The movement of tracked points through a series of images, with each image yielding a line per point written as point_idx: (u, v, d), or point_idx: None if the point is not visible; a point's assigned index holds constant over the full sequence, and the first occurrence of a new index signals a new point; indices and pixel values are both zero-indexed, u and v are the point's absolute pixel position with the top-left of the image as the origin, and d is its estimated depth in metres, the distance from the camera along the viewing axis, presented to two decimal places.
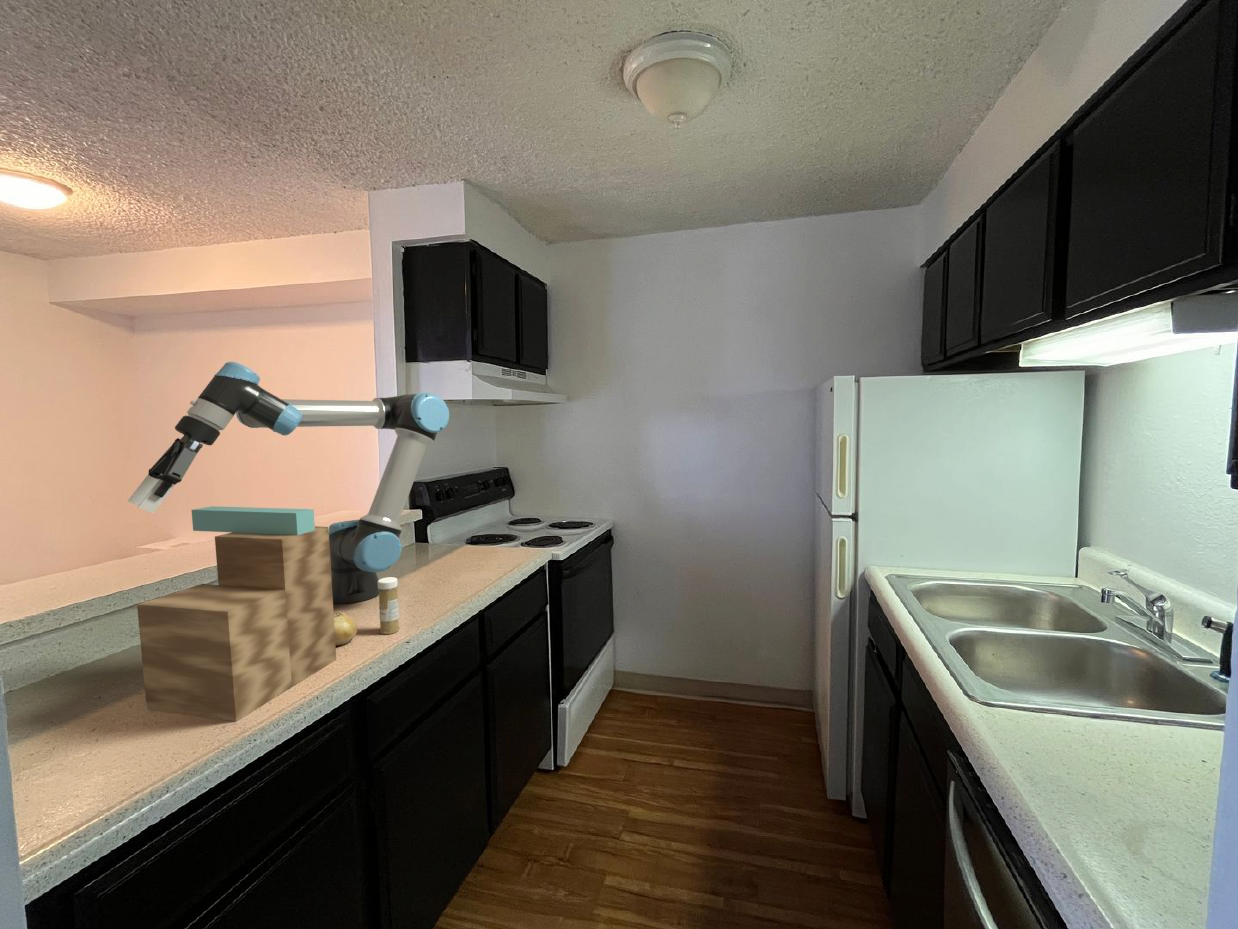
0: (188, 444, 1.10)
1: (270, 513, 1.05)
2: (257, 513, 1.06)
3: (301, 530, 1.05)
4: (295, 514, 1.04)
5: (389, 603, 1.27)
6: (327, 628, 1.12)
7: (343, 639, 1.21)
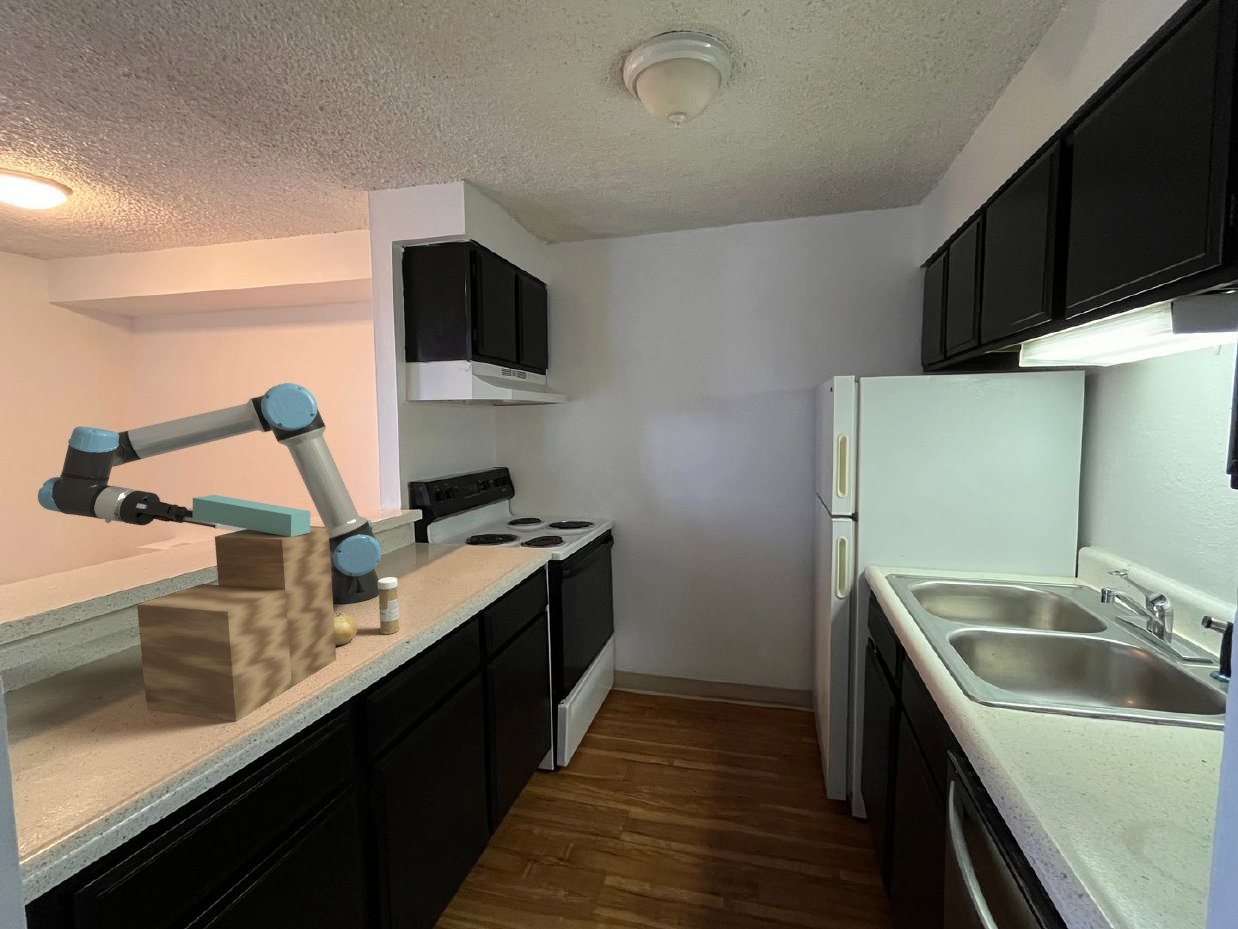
0: (140, 510, 1.10)
1: (266, 511, 1.03)
2: (254, 510, 1.04)
3: (295, 532, 1.03)
4: (290, 516, 1.02)
5: (389, 603, 1.27)
6: (327, 628, 1.12)
7: (343, 639, 1.21)
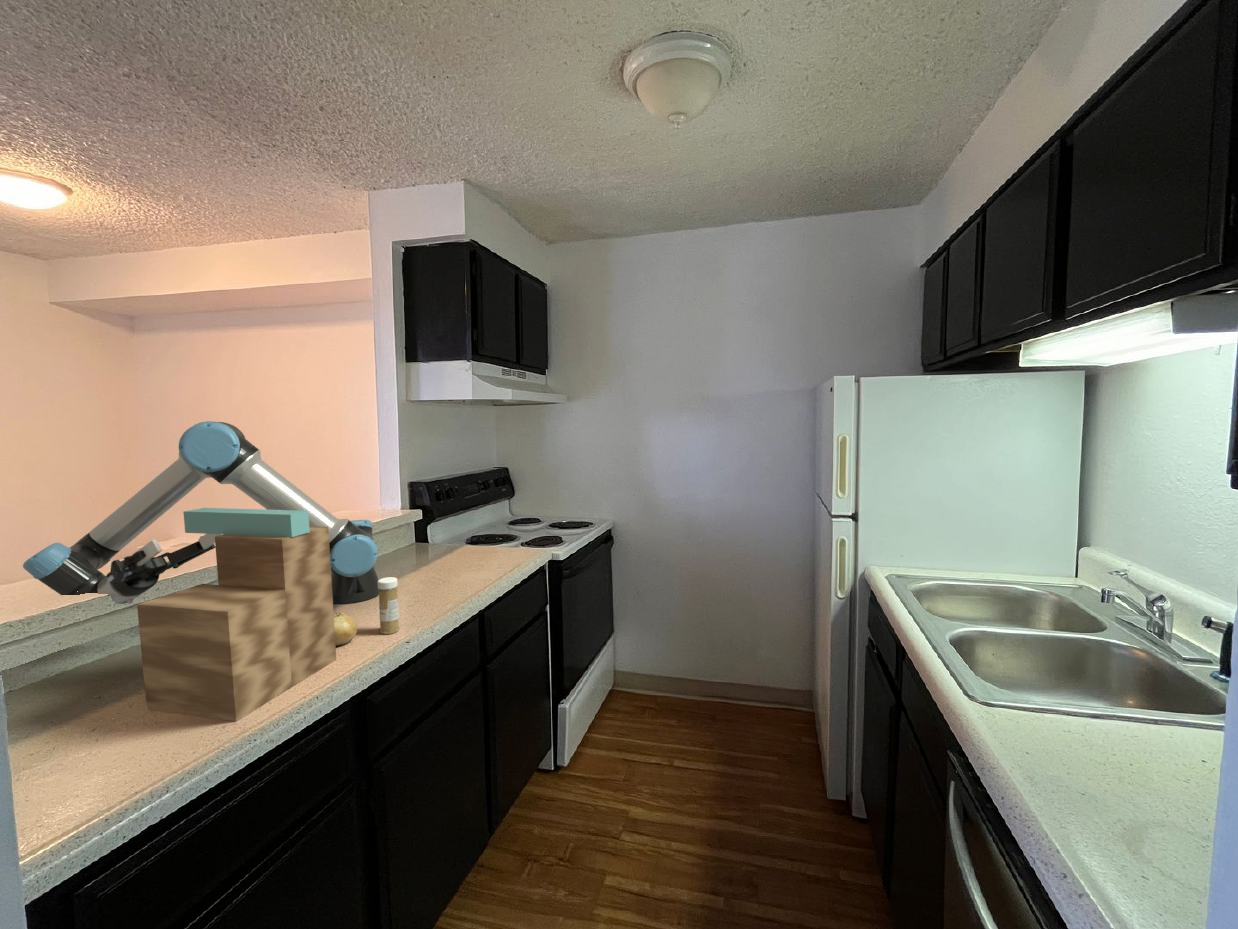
0: (113, 582, 1.09)
1: (264, 515, 1.03)
2: (250, 515, 1.04)
3: (295, 532, 1.03)
4: (289, 516, 1.02)
5: (389, 603, 1.27)
6: (327, 628, 1.12)
7: (343, 639, 1.21)
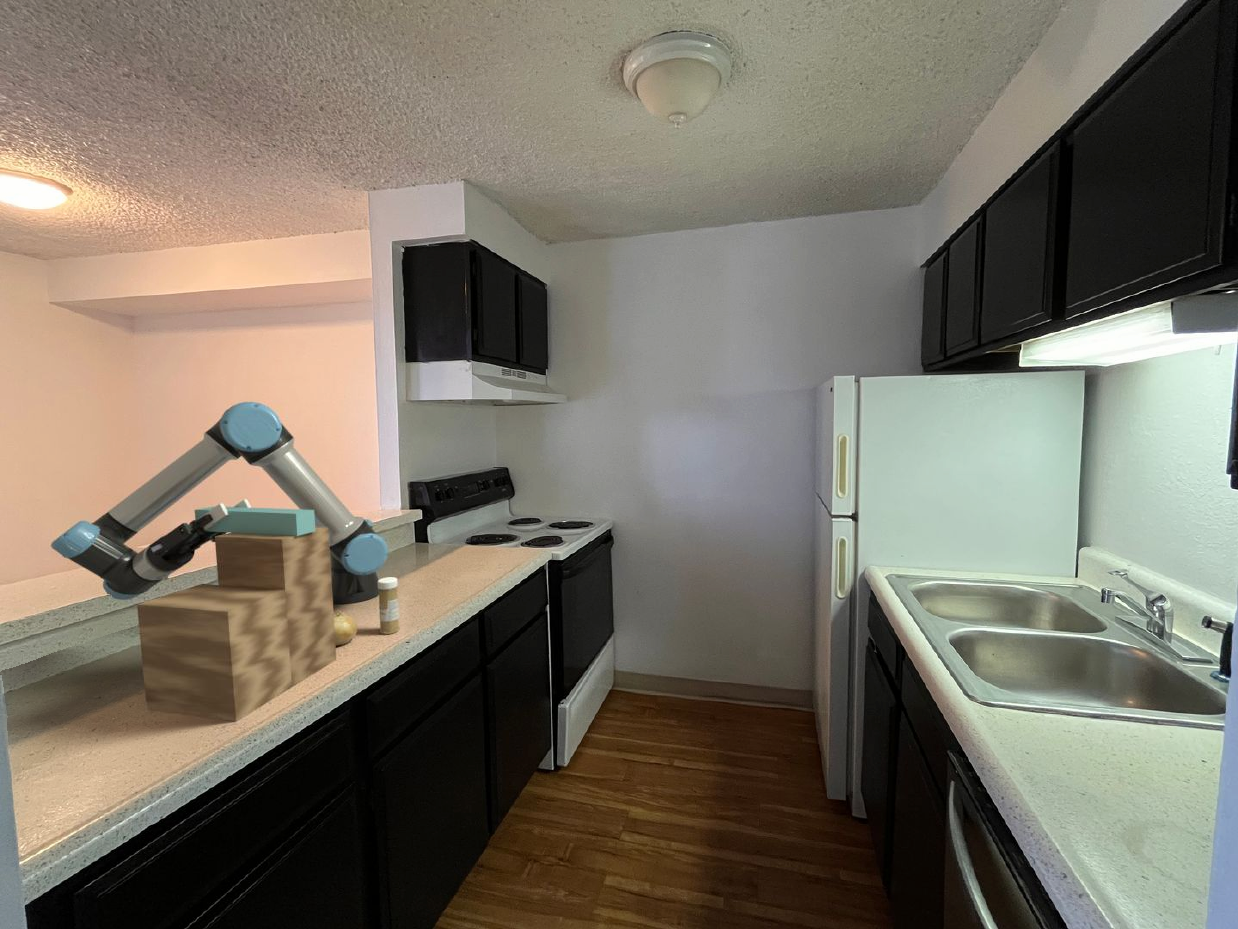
0: (159, 551, 1.06)
1: (271, 513, 1.04)
2: (258, 514, 1.05)
3: (301, 531, 1.04)
4: (295, 515, 1.03)
5: (389, 603, 1.27)
6: (327, 628, 1.12)
7: (343, 640, 1.21)
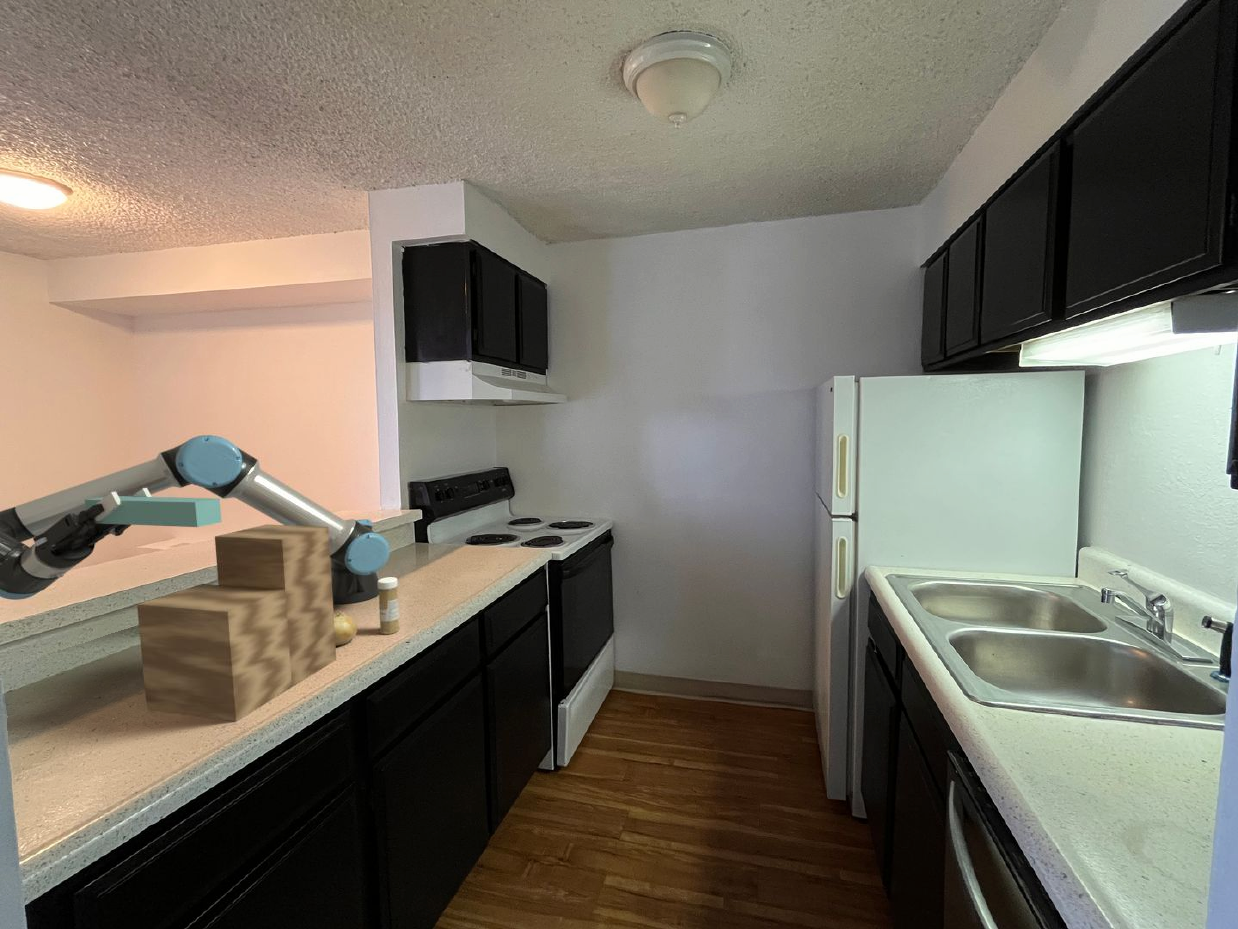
0: (43, 545, 0.95)
1: (168, 502, 0.93)
2: (154, 503, 0.94)
3: (202, 522, 0.93)
4: (194, 503, 0.92)
5: (389, 603, 1.27)
6: (327, 628, 1.12)
7: (343, 640, 1.21)
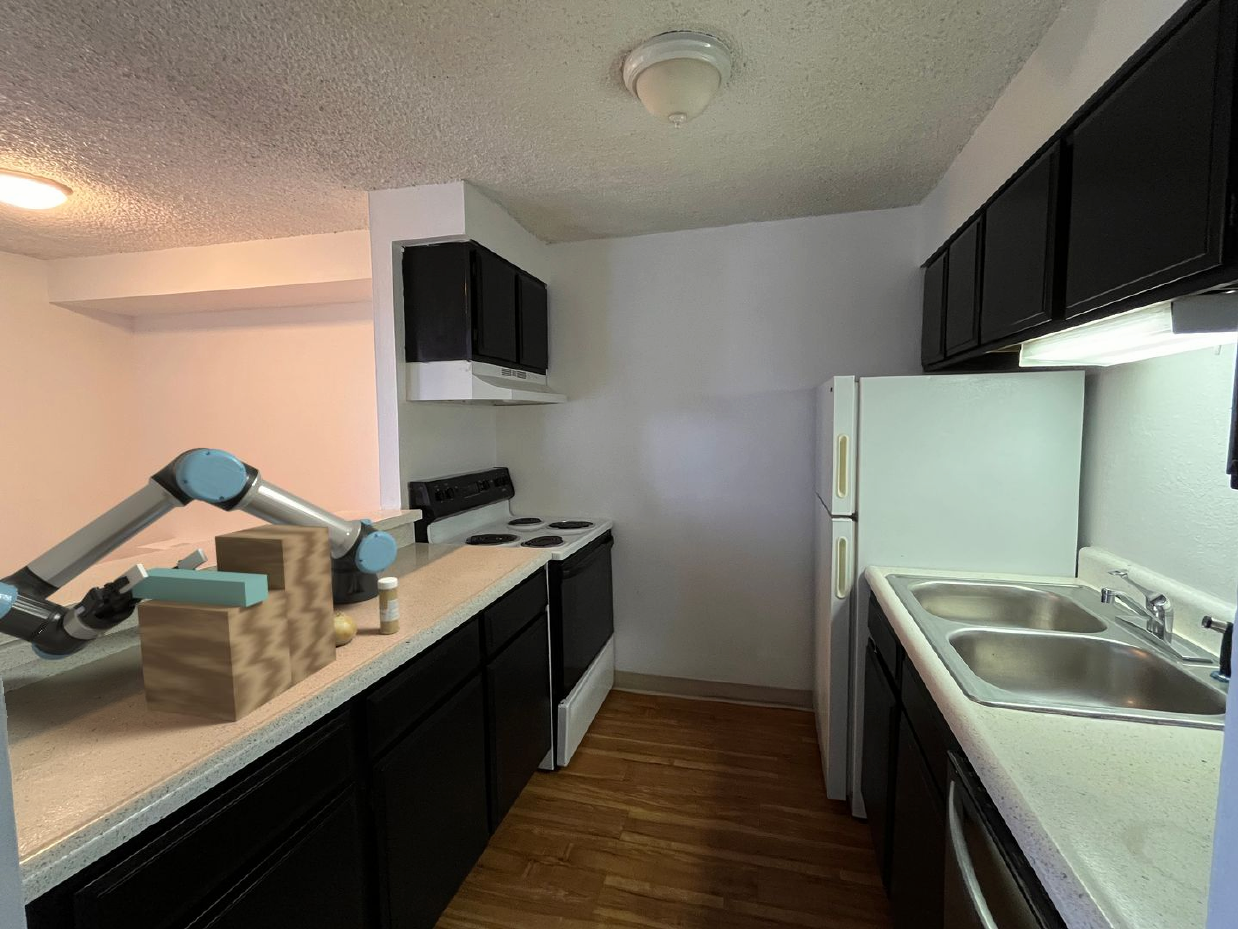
0: (82, 614, 0.94)
1: (216, 581, 0.93)
2: (202, 581, 0.94)
3: (251, 601, 0.93)
4: (243, 583, 0.92)
5: (389, 603, 1.27)
6: (327, 628, 1.12)
7: (343, 640, 1.21)
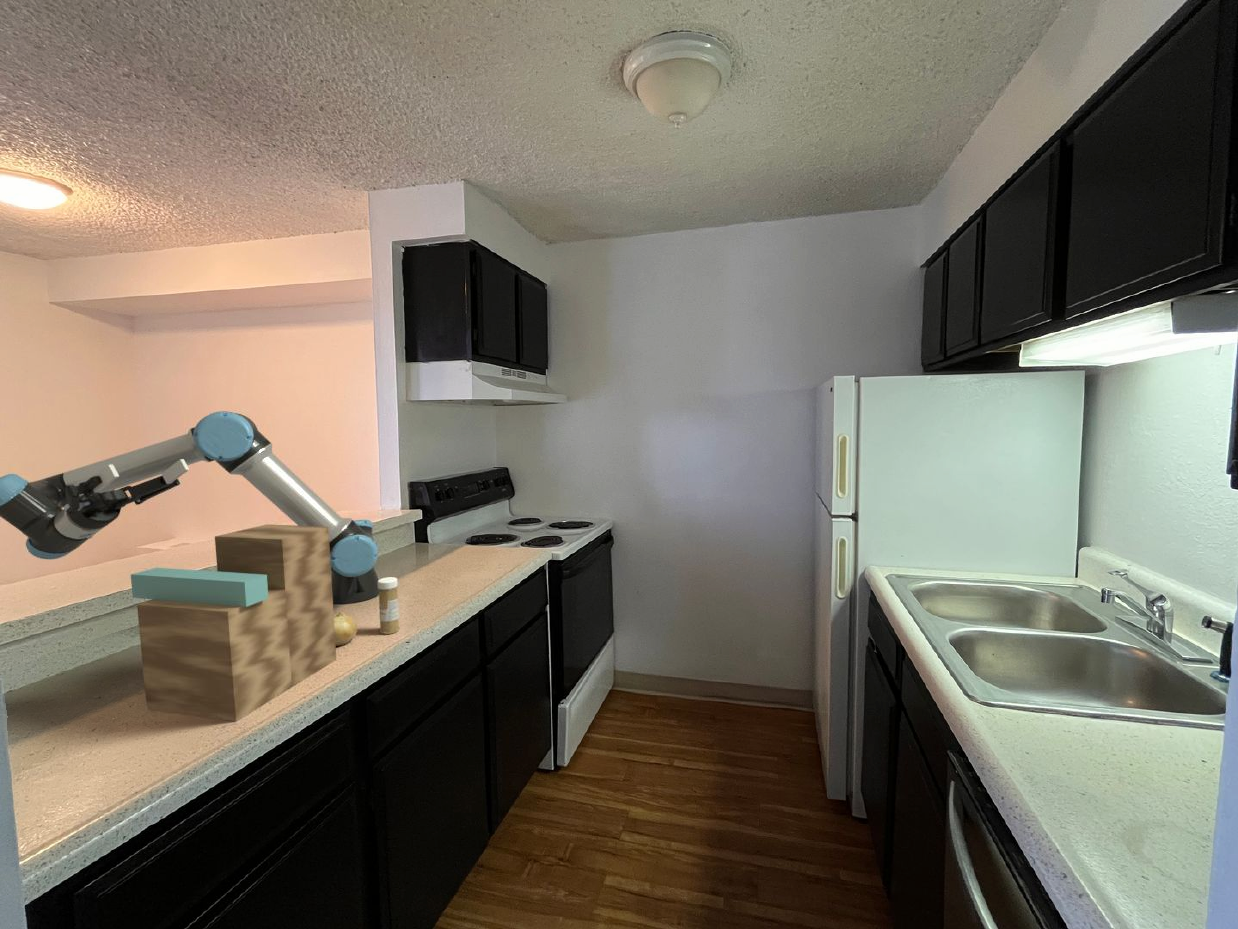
0: (69, 511, 1.04)
1: (216, 581, 0.93)
2: (202, 581, 0.94)
3: (251, 601, 0.93)
4: (243, 583, 0.92)
5: (389, 603, 1.27)
6: (327, 628, 1.12)
7: (343, 640, 1.21)
